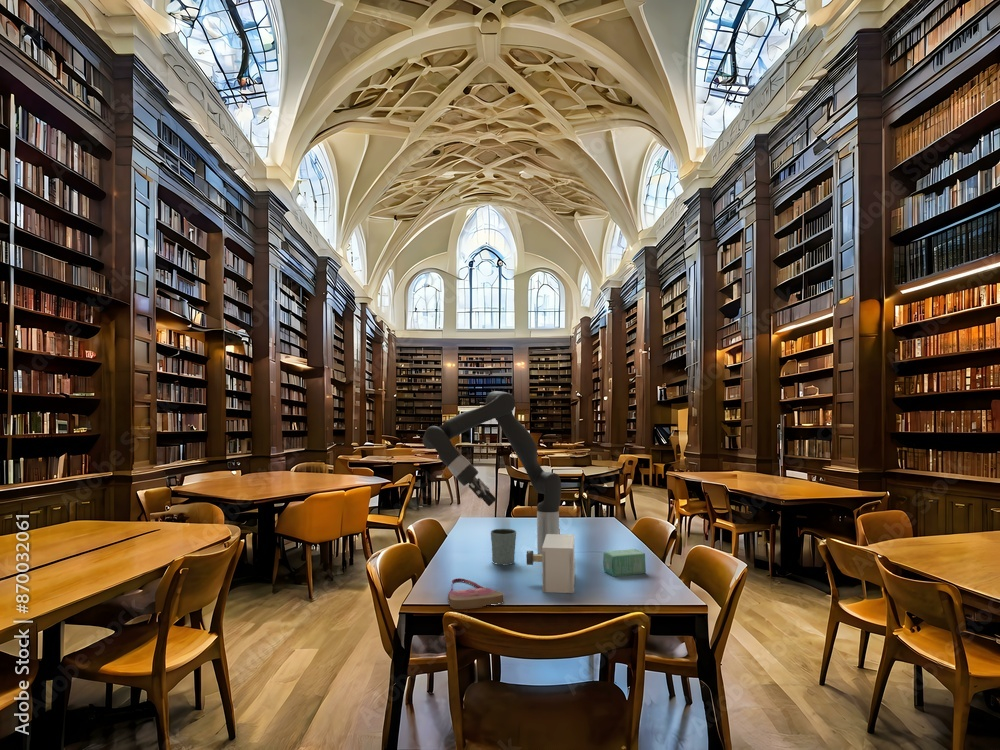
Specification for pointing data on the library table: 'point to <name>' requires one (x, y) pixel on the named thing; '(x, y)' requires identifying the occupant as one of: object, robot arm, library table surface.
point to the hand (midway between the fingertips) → (493, 502)
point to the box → (624, 562)
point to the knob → (533, 557)
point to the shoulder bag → (473, 597)
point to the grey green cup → (503, 545)
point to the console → (558, 563)
